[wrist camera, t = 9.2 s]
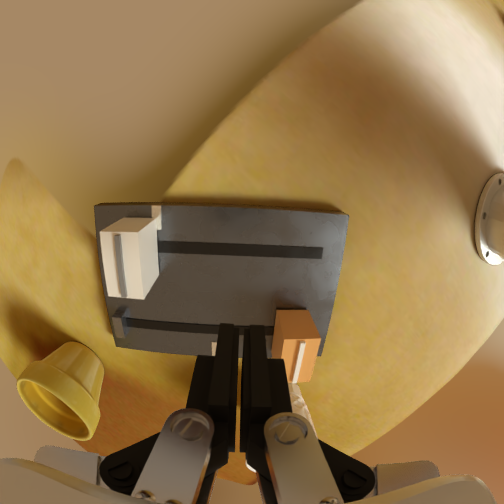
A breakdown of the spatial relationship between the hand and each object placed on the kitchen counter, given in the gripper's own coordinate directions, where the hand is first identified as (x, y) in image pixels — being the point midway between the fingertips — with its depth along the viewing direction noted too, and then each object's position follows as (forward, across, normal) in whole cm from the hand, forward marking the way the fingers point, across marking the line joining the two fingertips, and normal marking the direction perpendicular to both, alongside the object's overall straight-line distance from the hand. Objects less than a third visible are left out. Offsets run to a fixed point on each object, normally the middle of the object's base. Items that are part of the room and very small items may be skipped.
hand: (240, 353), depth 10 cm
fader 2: (+13, -5, +8) cm, 16 cm away
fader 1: (+13, +9, 0) cm, 15 cm away
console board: (+14, +2, +4) cm, 15 cm away
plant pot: (+14, +20, +17) cm, 30 cm away
